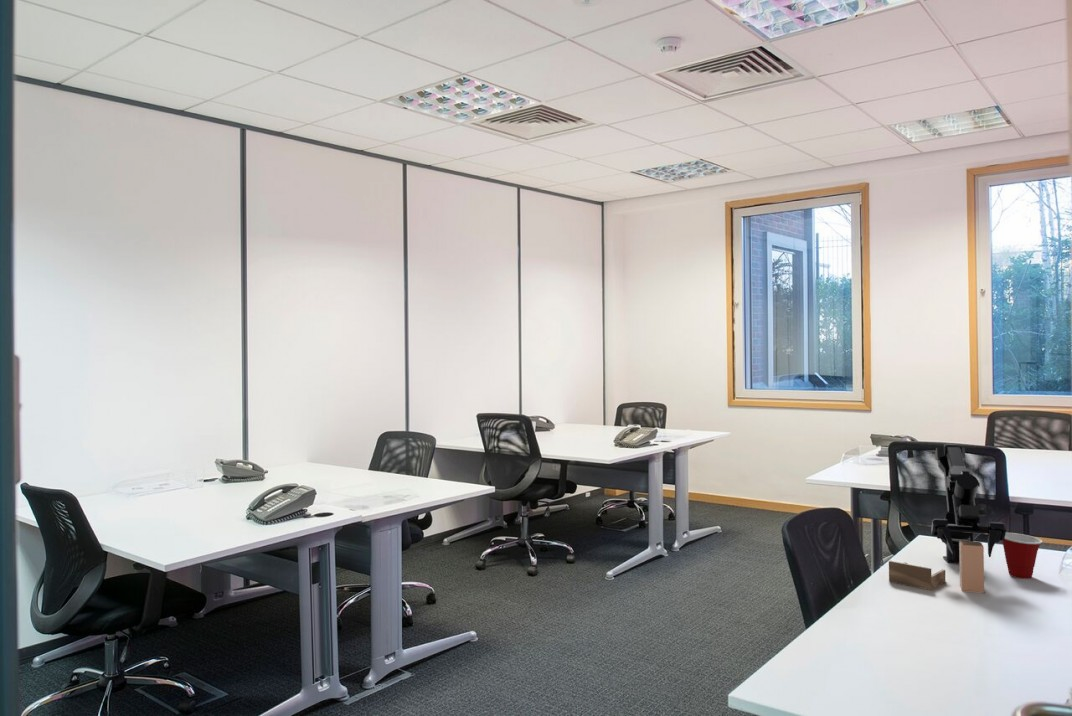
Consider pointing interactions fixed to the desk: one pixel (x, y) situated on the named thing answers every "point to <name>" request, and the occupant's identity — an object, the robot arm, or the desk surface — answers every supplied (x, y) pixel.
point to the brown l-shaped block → (915, 575)
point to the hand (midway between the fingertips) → (971, 555)
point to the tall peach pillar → (971, 566)
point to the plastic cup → (1020, 554)
